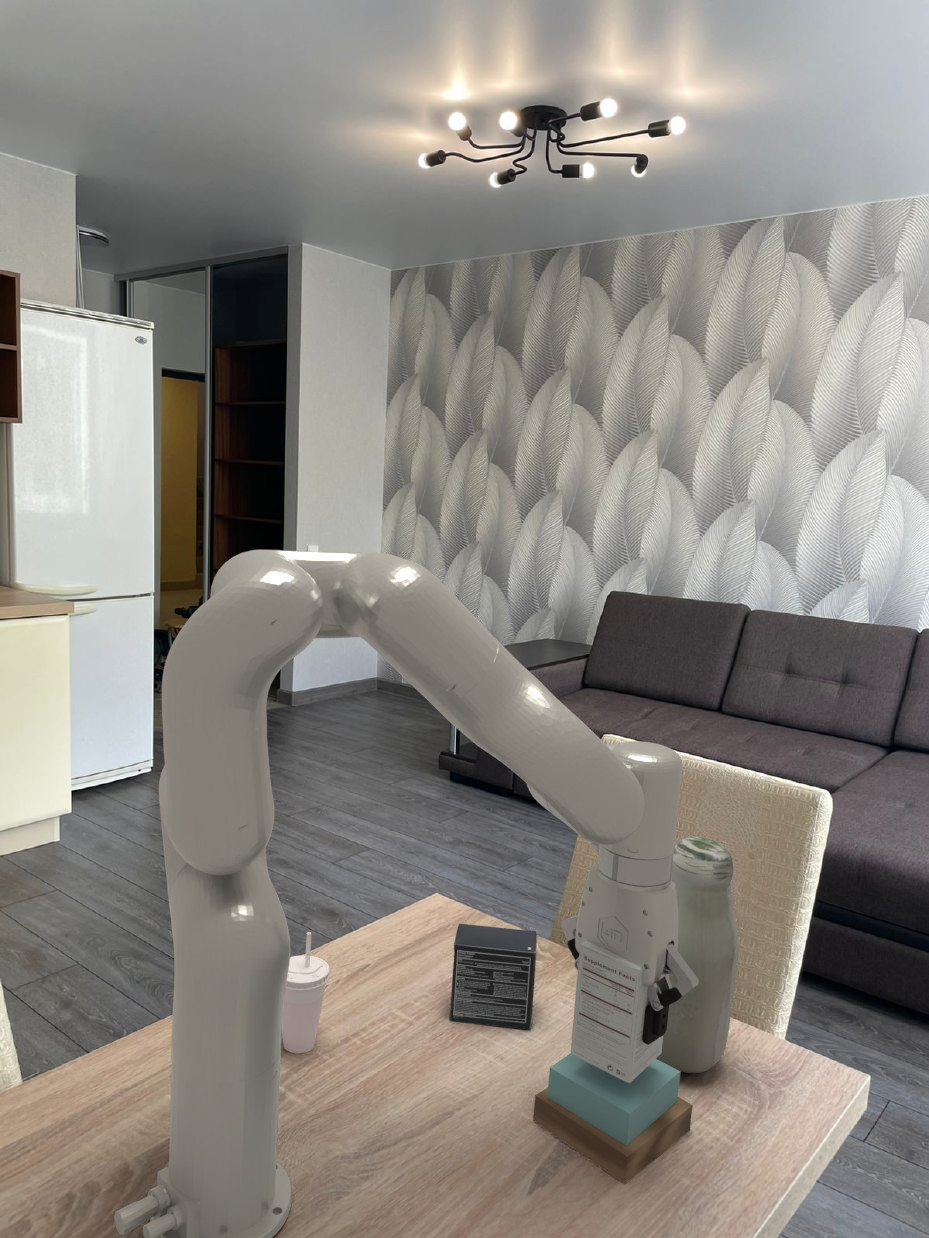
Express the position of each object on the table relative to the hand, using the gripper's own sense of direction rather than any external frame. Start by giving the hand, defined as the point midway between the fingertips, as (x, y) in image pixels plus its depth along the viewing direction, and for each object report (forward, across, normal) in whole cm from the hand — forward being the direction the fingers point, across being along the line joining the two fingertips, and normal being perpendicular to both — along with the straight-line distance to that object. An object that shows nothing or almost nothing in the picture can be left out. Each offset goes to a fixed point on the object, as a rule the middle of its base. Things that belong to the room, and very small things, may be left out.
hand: (619, 1019), depth 98 cm
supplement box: (+4, 0, 0) cm, 4 cm away
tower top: (+9, 0, 0) cm, 9 cm away
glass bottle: (+13, -1, +16) cm, 20 cm away
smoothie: (+13, -33, -17) cm, 39 cm away
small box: (+13, -23, +6) cm, 27 cm away
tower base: (+13, 0, 0) cm, 13 cm away
